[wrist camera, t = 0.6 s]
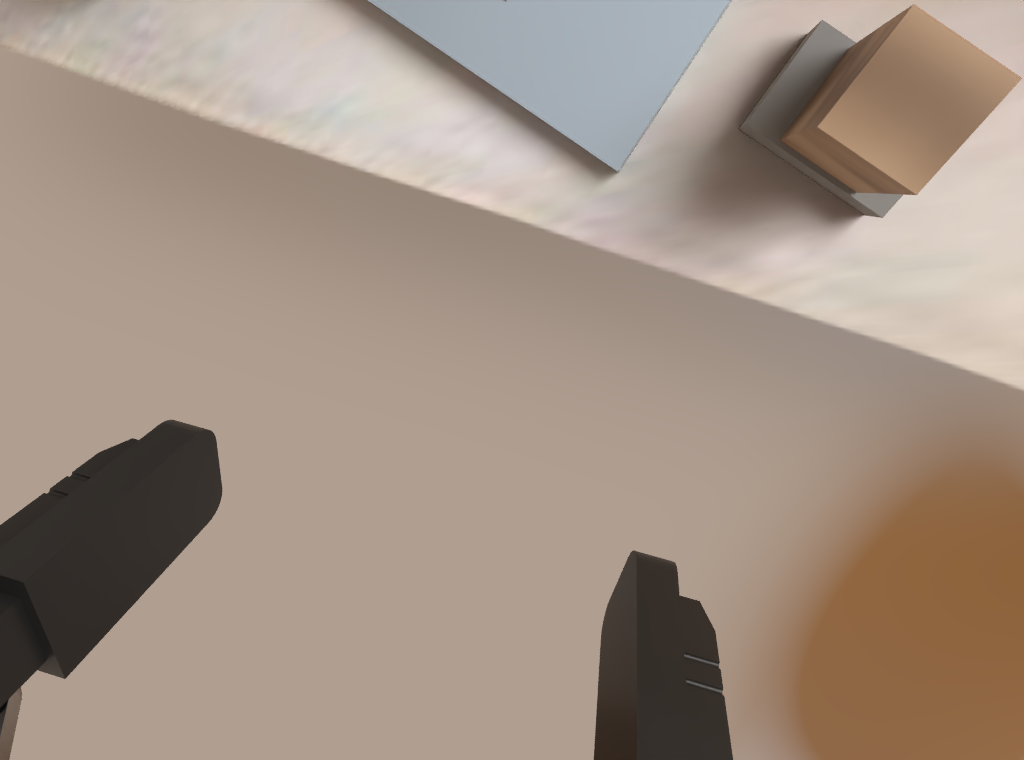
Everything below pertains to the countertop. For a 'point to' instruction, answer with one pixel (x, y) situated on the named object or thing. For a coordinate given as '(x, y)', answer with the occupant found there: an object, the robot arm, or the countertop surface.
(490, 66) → the board
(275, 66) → the countertop surface
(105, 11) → the countertop surface
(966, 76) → the block
